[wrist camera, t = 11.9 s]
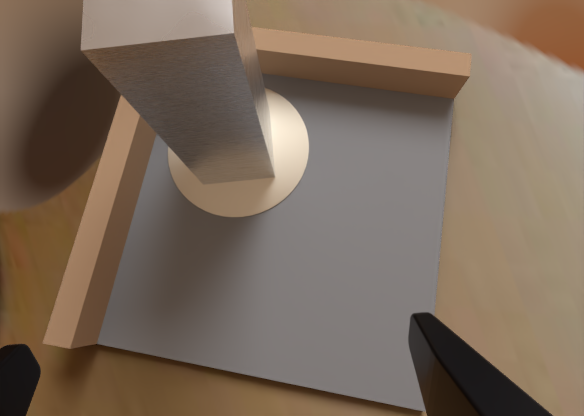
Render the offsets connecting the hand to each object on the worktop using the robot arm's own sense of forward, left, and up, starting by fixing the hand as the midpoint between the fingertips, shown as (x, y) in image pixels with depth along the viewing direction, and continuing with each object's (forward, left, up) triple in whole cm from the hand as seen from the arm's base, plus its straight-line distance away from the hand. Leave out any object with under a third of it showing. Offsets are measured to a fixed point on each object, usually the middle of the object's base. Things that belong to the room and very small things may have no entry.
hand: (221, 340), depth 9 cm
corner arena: (+7, +1, -14) cm, 15 cm away
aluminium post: (+10, +4, -13) cm, 17 cm away
